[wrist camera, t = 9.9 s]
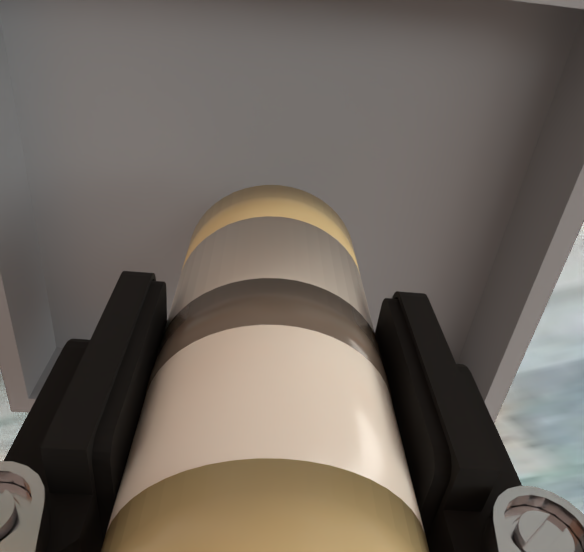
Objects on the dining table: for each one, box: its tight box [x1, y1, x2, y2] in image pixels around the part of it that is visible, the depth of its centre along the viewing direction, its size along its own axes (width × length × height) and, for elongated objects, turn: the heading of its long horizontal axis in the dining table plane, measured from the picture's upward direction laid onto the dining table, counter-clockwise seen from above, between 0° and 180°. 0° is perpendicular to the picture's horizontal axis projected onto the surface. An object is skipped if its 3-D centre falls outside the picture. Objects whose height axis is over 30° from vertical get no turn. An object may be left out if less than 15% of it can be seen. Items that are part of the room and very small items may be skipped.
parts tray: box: [0, 0, 584, 422], centre depth 15 cm, size 15×13×3 cm
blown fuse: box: [101, 185, 429, 552], centre depth 9 cm, size 4×4×9 cm
